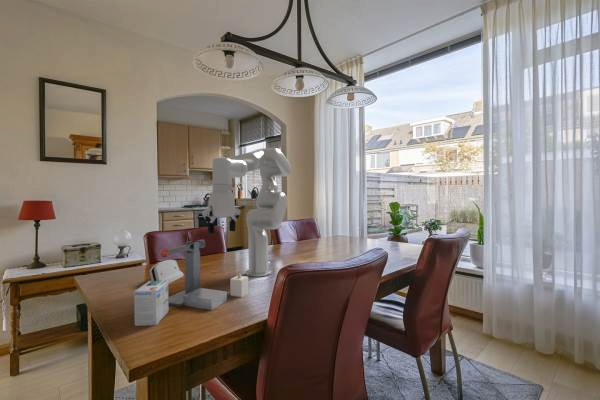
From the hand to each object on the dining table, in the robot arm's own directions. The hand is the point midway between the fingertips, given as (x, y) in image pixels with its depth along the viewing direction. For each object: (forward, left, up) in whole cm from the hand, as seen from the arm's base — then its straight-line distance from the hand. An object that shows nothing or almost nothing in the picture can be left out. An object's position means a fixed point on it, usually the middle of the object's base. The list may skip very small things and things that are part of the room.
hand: (222, 232), depth 120 cm
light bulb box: (+29, -6, -24) cm, 38 cm away
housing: (0, +8, -24) cm, 25 cm away
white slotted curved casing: (-5, -33, -24) cm, 42 cm away
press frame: (+11, -3, -24) cm, 27 cm away
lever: (+9, -11, -7) cm, 16 cm away
